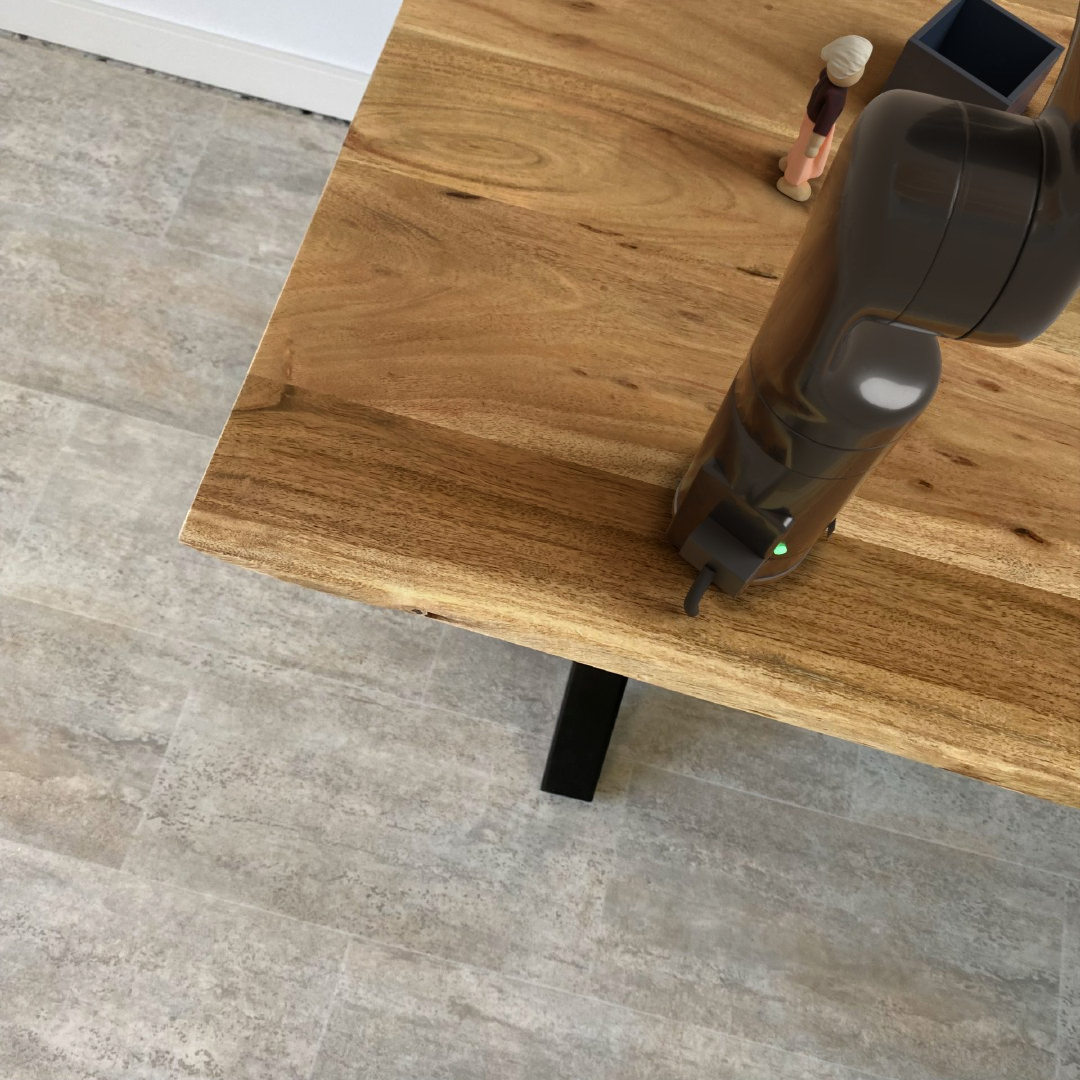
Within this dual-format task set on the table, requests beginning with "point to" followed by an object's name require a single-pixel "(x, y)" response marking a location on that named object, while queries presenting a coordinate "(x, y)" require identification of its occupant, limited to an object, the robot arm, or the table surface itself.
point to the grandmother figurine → (823, 114)
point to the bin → (976, 57)
